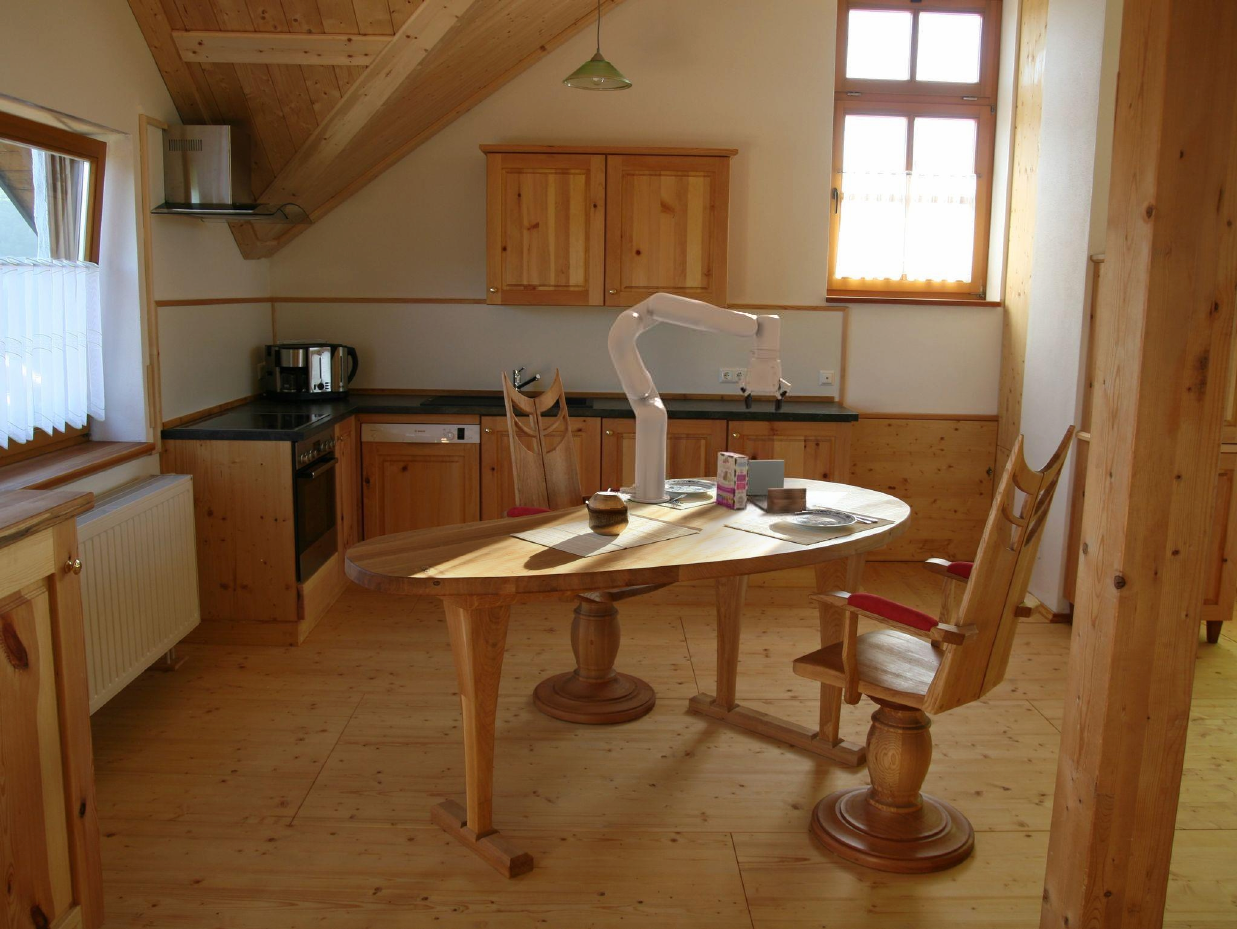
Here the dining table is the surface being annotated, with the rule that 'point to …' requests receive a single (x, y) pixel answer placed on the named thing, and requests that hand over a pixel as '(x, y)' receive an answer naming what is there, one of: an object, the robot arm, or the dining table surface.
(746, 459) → the candy bar box
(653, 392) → the robot arm
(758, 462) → the block
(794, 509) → the book rack
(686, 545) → the dining table surface
